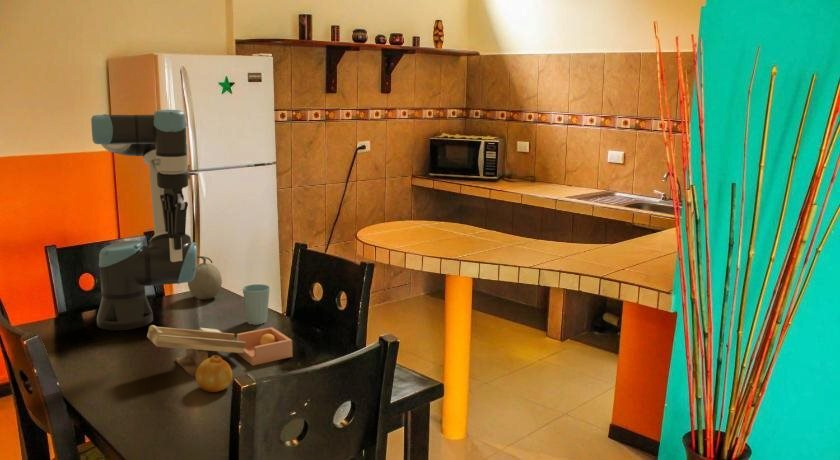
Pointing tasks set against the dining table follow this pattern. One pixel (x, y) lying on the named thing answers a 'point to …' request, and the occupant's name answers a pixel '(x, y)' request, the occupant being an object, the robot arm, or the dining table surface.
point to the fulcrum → (192, 360)
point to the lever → (195, 339)
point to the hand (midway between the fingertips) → (176, 260)
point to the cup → (256, 303)
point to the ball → (267, 339)
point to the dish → (264, 346)
